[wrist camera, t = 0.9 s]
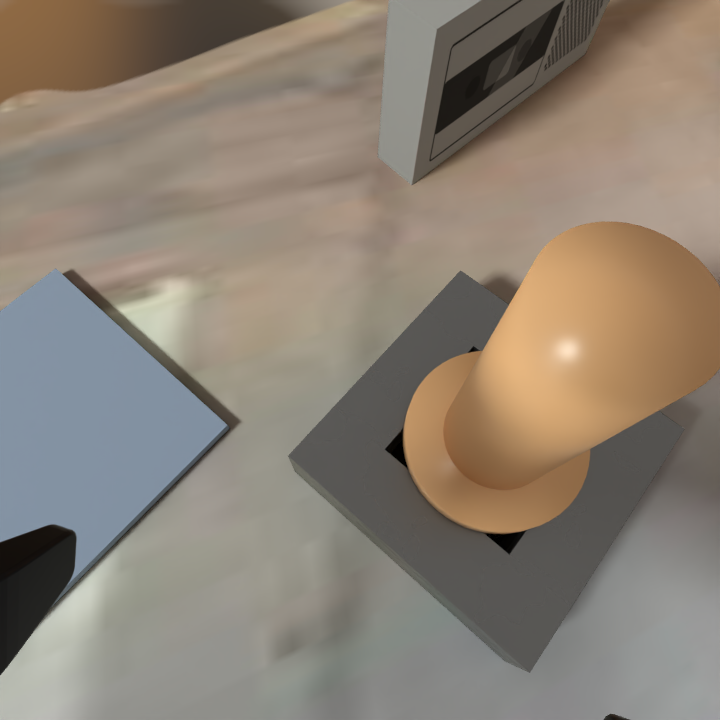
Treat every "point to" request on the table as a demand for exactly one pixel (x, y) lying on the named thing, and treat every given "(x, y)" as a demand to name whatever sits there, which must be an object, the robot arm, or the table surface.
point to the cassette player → (469, 69)
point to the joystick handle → (562, 375)
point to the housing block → (448, 539)
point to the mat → (87, 422)
